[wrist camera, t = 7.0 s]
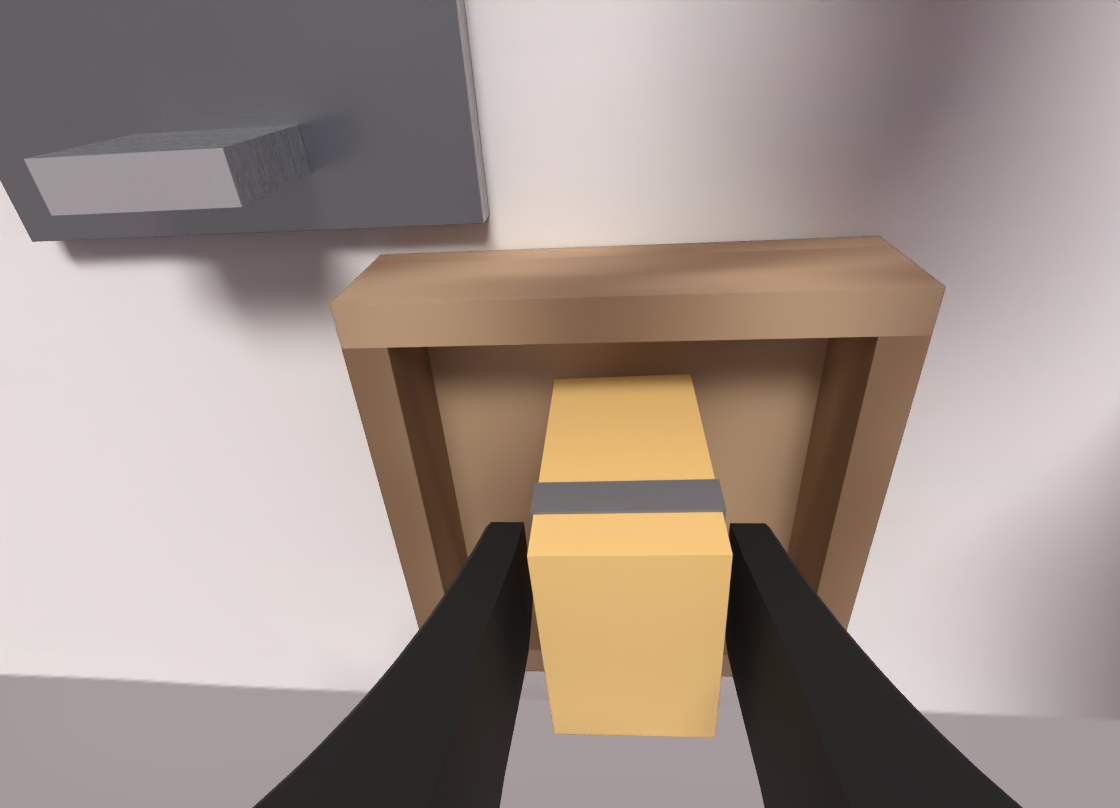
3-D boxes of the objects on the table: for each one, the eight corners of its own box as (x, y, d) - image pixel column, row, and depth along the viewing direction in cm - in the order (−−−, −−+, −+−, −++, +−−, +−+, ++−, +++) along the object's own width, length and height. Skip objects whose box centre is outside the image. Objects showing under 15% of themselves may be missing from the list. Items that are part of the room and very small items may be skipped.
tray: (880, 235, 11) (945, 286, 9) (802, 591, 16) (832, 679, 14) (380, 254, 12) (329, 304, 10) (453, 586, 17) (430, 668, 15)
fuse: (693, 371, 12) (736, 553, 8) (686, 533, 15) (717, 739, 10) (552, 376, 13) (523, 553, 8) (568, 535, 15) (552, 735, 11)
